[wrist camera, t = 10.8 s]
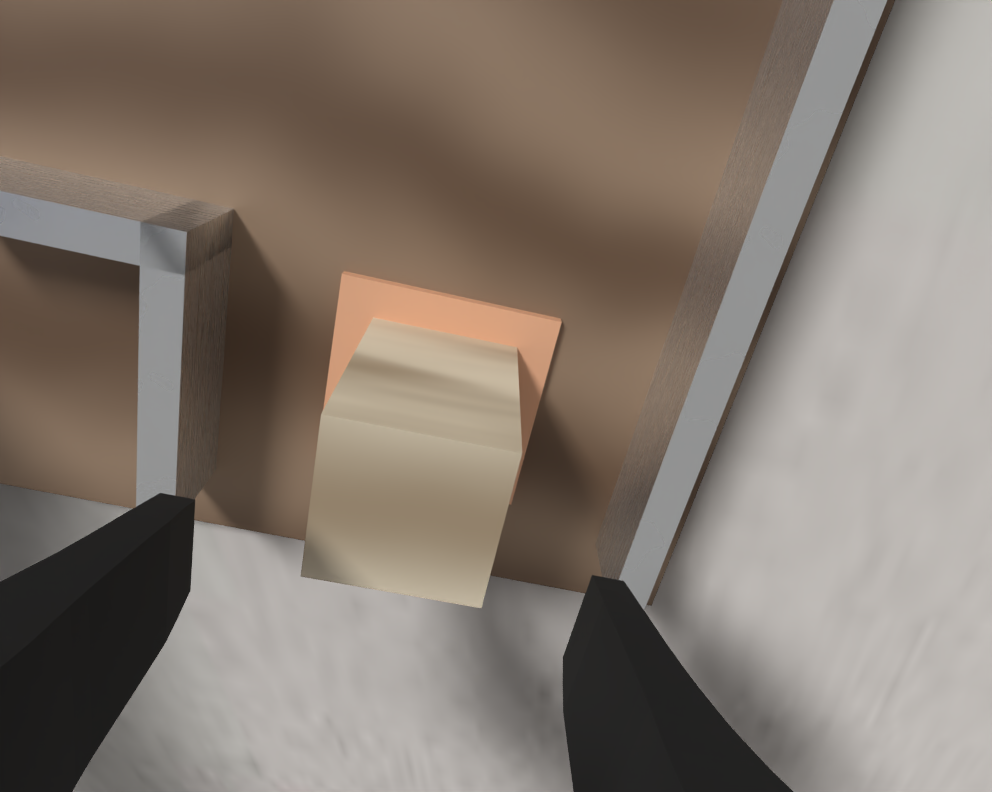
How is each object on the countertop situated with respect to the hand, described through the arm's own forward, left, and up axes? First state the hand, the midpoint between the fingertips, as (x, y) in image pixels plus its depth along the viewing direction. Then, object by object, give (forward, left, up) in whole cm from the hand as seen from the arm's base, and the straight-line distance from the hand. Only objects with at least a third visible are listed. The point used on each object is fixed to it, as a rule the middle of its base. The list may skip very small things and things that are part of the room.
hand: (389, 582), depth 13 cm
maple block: (0, 0, -8) cm, 8 cm away
